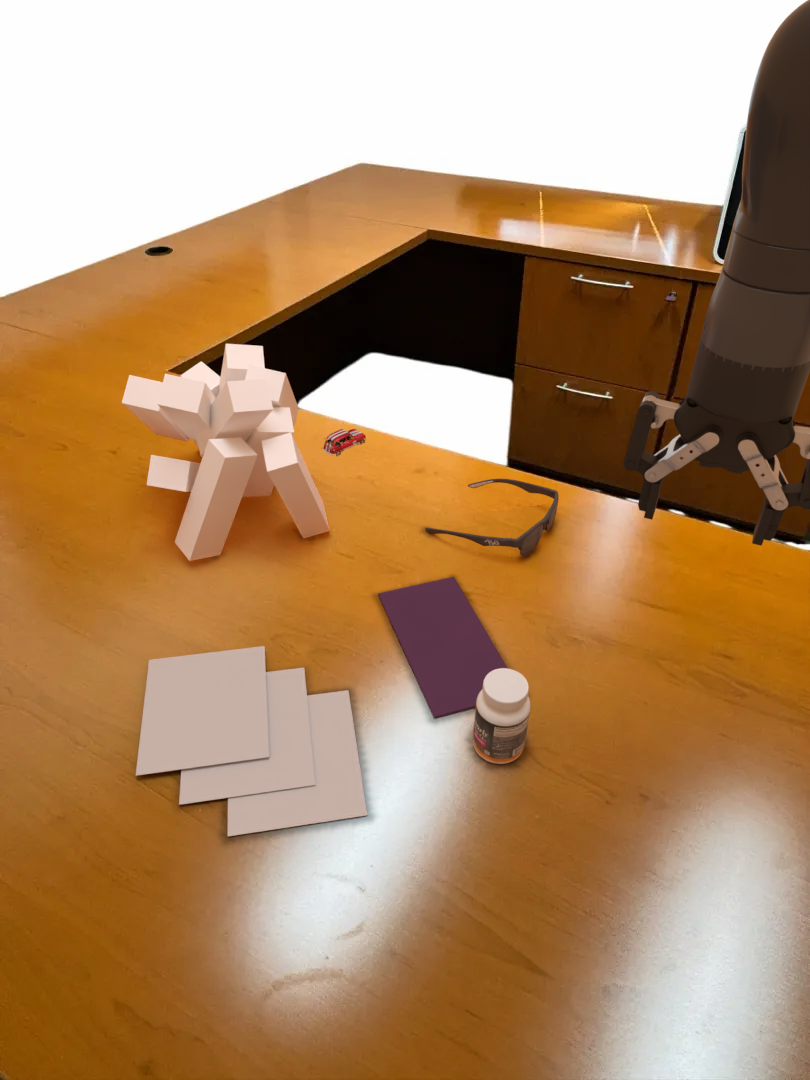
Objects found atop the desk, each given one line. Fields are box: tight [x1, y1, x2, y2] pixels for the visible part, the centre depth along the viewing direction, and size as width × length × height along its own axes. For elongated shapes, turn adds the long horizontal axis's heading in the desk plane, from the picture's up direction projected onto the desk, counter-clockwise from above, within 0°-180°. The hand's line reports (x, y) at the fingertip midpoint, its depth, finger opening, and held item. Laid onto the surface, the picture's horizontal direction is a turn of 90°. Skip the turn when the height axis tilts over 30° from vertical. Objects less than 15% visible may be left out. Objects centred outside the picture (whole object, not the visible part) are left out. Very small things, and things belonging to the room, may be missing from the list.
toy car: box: [322, 428, 367, 457], centre depth 134 cm, size 4×8×3 cm, turn 133°
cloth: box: [377, 576, 509, 719], centre depth 98 cm, size 22×11×1 cm, turn 19°
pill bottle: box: [472, 667, 531, 765], centre depth 82 cm, size 6×6×10 cm
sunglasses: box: [424, 478, 559, 558], centre depth 116 cm, size 16×17×5 cm
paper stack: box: [135, 645, 368, 837], centre depth 86 cm, size 23×25×1 cm
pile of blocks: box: [121, 343, 331, 562], centre depth 112 cm, size 35×30×35 cm
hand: (702, 526), depth 64 cm, fingers open, 8 cm apart
